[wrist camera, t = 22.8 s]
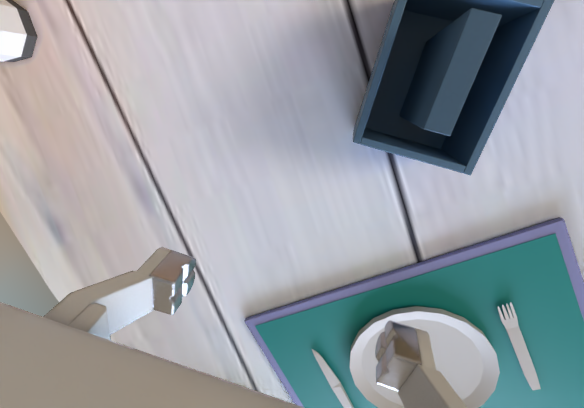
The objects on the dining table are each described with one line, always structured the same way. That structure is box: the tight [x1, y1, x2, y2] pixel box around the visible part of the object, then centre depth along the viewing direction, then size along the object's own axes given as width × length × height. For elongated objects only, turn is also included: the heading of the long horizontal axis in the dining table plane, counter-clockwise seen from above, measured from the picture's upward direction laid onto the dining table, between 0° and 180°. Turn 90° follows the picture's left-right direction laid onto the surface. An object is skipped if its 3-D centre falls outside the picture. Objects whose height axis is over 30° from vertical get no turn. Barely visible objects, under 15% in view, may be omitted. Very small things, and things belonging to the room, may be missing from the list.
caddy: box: [353, 0, 554, 175], centre depth 29 cm, size 14×11×15 cm
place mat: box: [245, 218, 584, 408], centre depth 47 cm, size 45×30×2 cm
